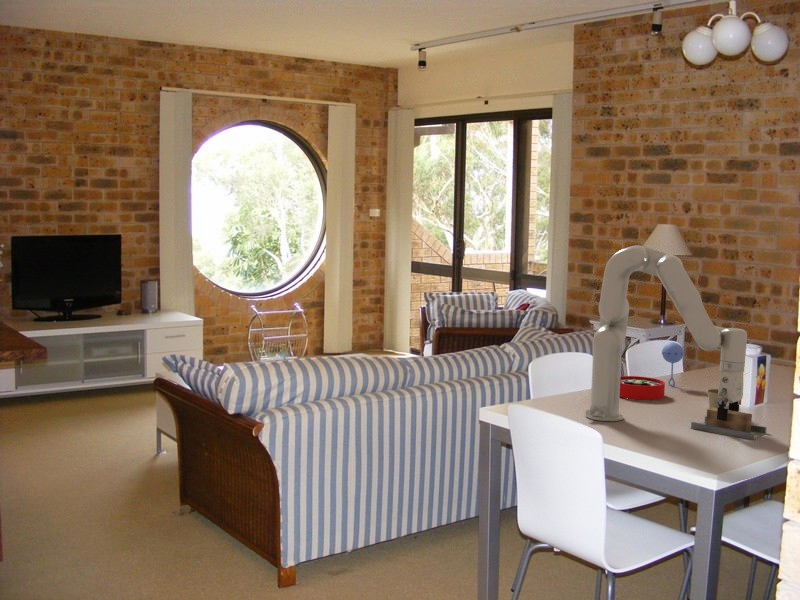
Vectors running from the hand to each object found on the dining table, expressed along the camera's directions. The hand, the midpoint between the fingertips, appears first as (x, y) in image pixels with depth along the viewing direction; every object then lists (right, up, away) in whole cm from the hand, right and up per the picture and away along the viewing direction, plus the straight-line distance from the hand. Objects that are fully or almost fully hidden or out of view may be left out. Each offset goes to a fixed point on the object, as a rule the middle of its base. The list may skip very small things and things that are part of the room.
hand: (727, 417), depth 287 cm
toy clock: (-15, +1, +53) cm, 55 cm away
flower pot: (+5, -2, +21) cm, 22 cm away
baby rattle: (+4, +3, +73) cm, 73 cm away
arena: (0, -4, 0) cm, 4 cm away
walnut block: (0, -4, 0) cm, 4 cm away
